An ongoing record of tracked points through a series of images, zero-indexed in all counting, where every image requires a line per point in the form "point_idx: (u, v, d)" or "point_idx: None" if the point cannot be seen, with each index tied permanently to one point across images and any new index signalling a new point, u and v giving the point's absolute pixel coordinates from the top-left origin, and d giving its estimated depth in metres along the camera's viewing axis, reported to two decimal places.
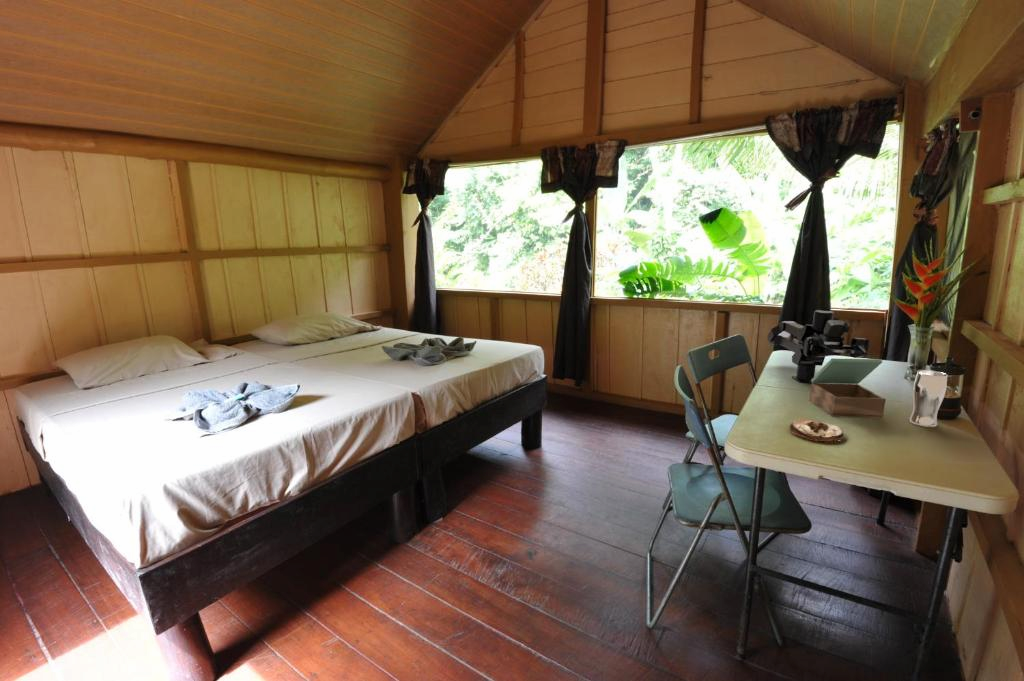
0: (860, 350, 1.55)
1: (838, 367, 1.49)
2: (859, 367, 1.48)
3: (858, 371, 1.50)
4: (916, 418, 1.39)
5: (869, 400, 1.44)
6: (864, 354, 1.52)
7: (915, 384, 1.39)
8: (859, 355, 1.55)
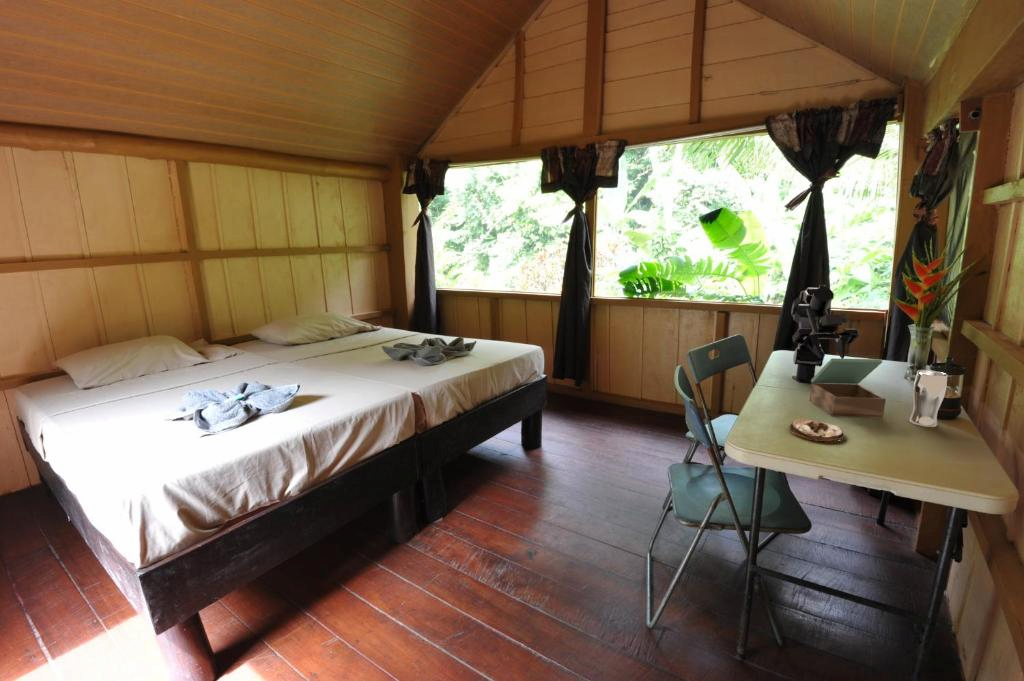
0: (841, 349, 1.60)
1: (838, 367, 1.49)
2: (859, 367, 1.48)
3: (858, 371, 1.50)
4: (916, 418, 1.39)
5: (869, 400, 1.44)
6: (841, 357, 1.59)
7: (915, 384, 1.39)
8: (838, 351, 1.61)
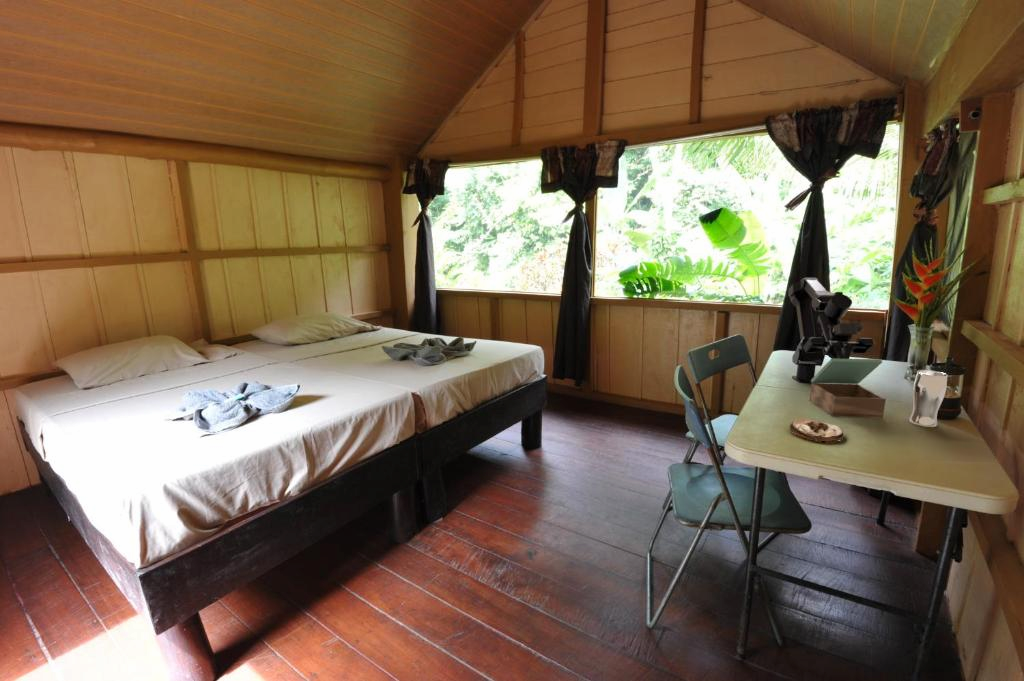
0: None
1: (838, 367, 1.49)
2: (859, 367, 1.48)
3: (858, 371, 1.50)
4: (916, 418, 1.39)
5: (869, 400, 1.44)
6: None
7: (915, 384, 1.39)
8: None
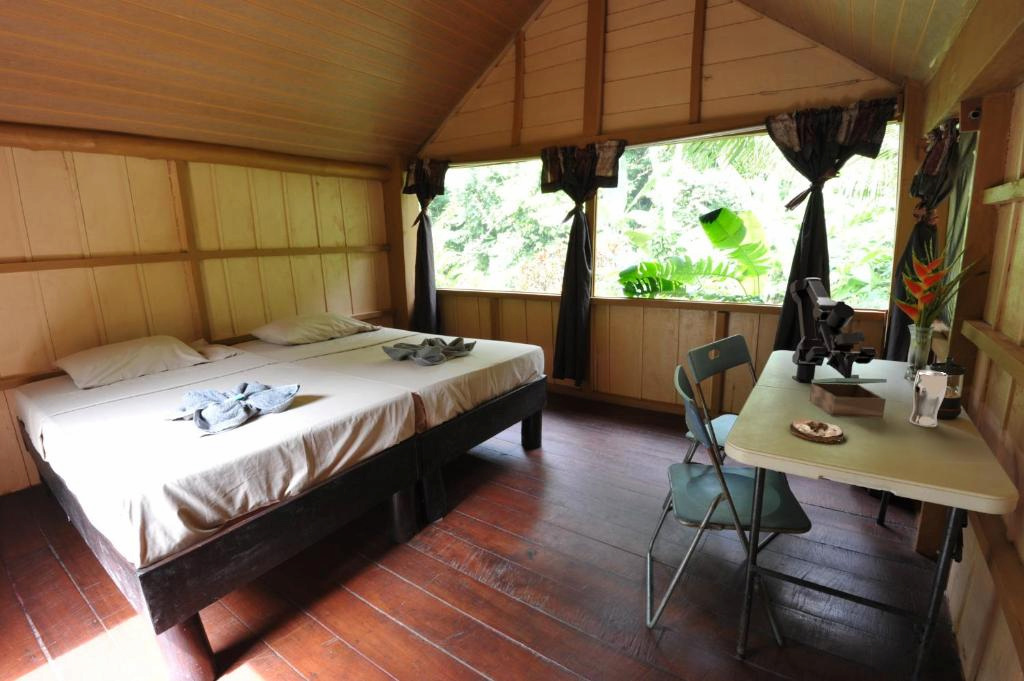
0: (847, 369, 1.51)
1: None
2: (862, 382, 1.46)
3: None
4: (916, 418, 1.39)
5: (869, 400, 1.44)
6: None
7: (915, 384, 1.39)
8: None
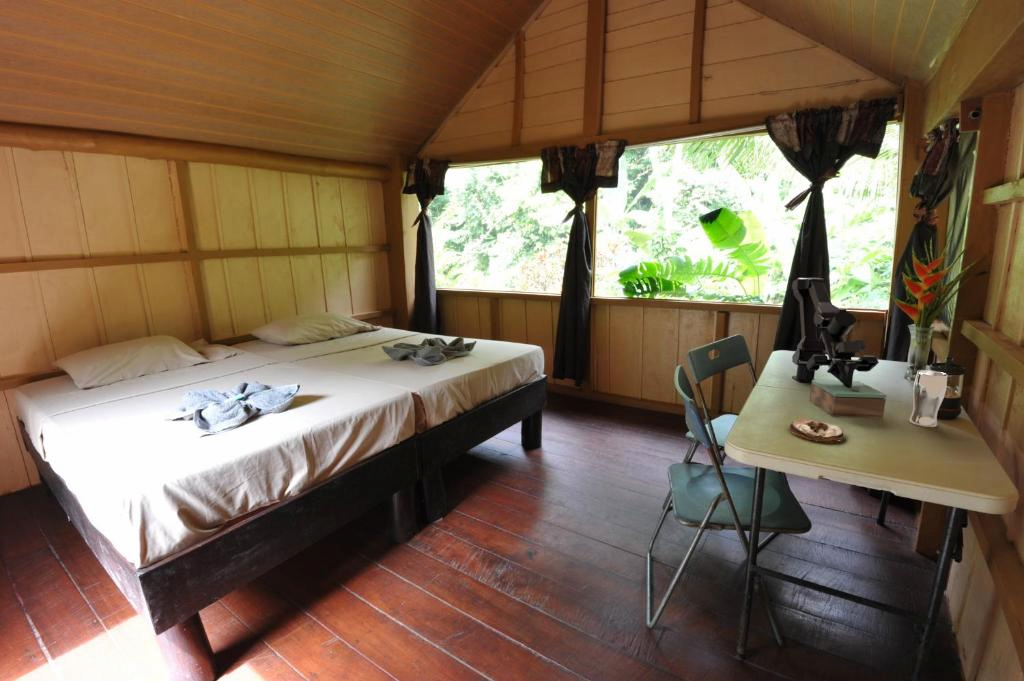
0: (848, 378, 1.50)
1: None
2: None
3: None
4: (916, 418, 1.39)
5: (869, 400, 1.44)
6: None
7: (915, 384, 1.39)
8: None
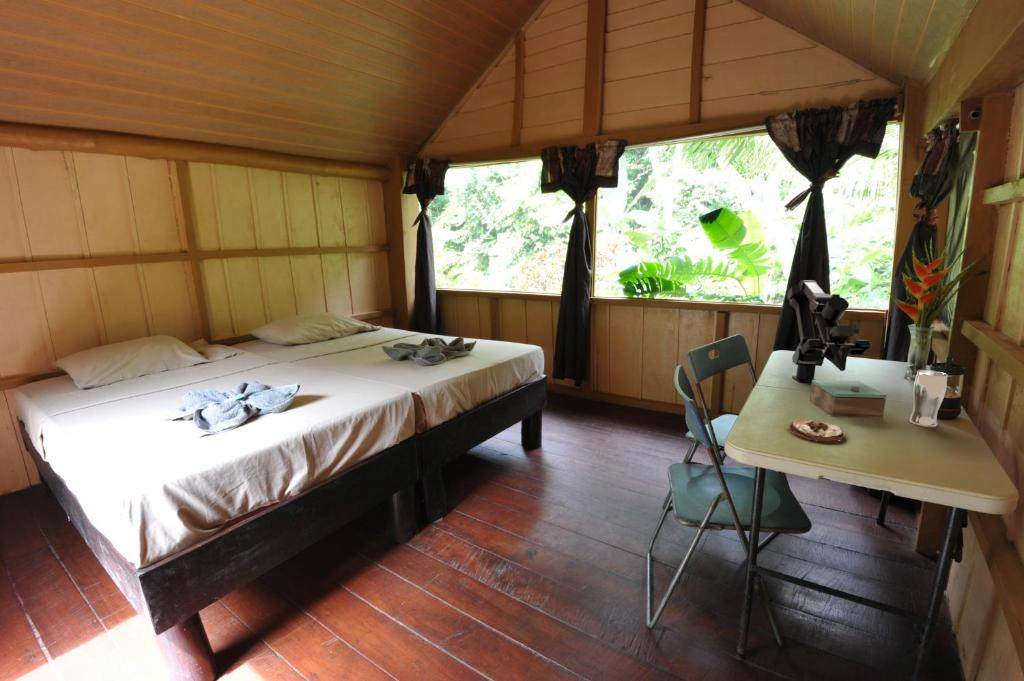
0: None
1: None
2: None
3: None
4: (916, 418, 1.39)
5: (869, 400, 1.44)
6: None
7: (915, 384, 1.39)
8: None
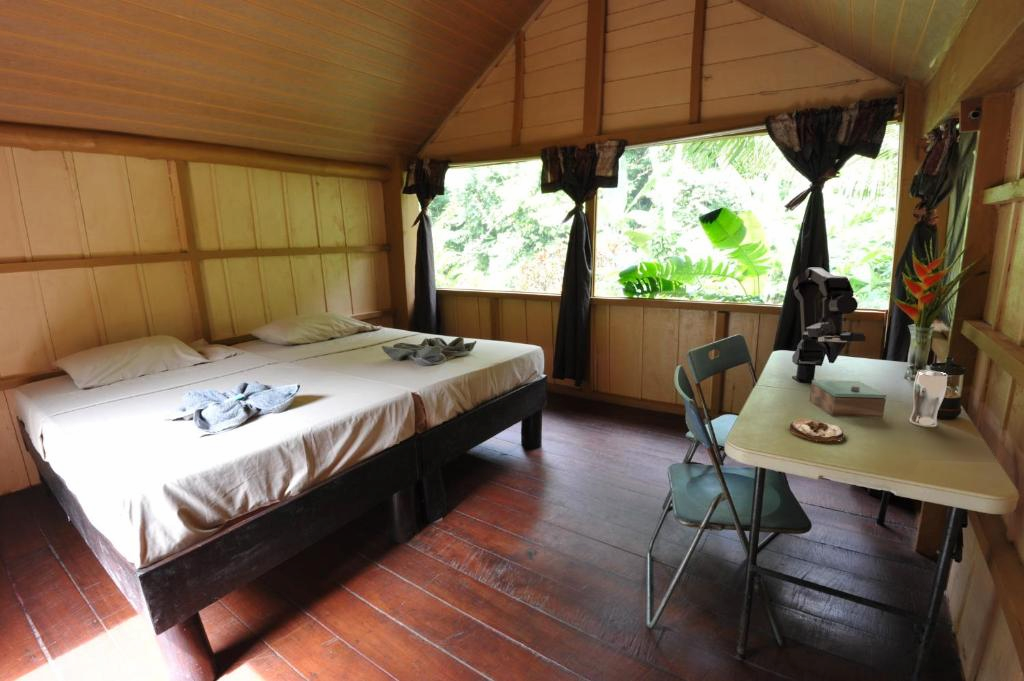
0: None
1: None
2: None
3: None
4: (916, 418, 1.39)
5: (869, 400, 1.44)
6: None
7: (915, 384, 1.39)
8: None
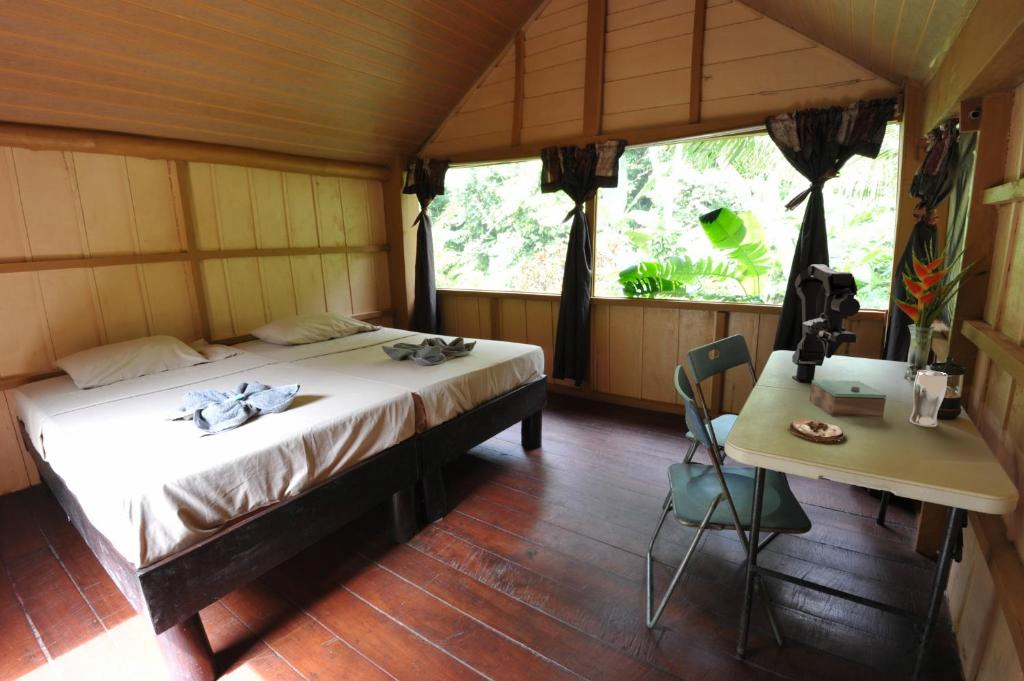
0: None
1: None
2: None
3: None
4: (916, 418, 1.39)
5: (869, 400, 1.44)
6: None
7: (915, 384, 1.39)
8: None
